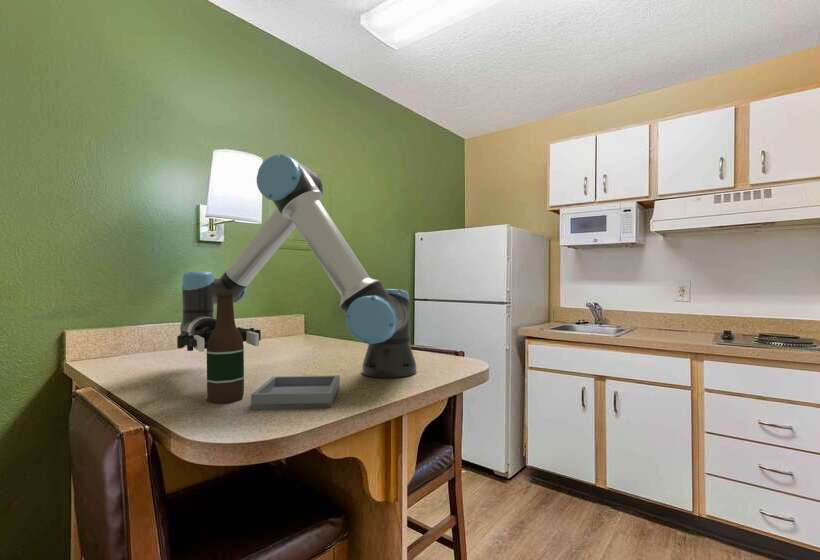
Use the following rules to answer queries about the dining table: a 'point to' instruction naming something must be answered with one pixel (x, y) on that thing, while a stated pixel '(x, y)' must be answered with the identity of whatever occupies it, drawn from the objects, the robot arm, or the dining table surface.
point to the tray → (296, 392)
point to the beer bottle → (225, 355)
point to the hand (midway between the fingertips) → (230, 342)
